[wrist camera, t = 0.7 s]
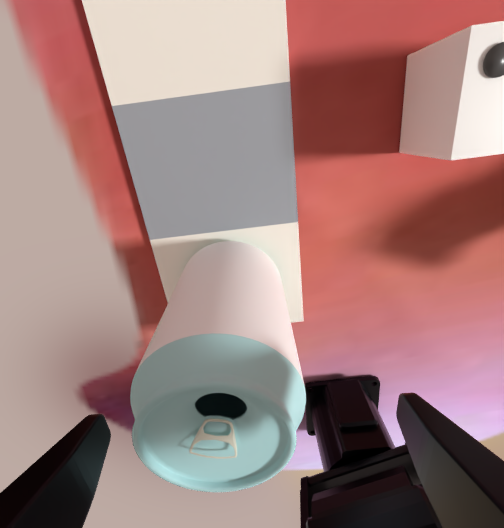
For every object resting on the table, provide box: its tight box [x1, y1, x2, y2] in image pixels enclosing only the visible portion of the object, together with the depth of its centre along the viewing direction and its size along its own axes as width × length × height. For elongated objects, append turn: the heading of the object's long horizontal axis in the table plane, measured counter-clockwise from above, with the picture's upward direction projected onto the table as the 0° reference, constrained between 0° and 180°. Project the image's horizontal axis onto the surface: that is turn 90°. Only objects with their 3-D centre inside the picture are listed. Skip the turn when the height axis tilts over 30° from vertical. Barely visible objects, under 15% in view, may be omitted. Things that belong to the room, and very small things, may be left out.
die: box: [399, 21, 504, 160], centre depth 15 cm, size 5×5×5 cm
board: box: [82, 0, 304, 322], centre depth 16 cm, size 32×10×1 cm, turn 7°
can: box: [130, 241, 306, 492], centre depth 16 cm, size 7×7×12 cm
